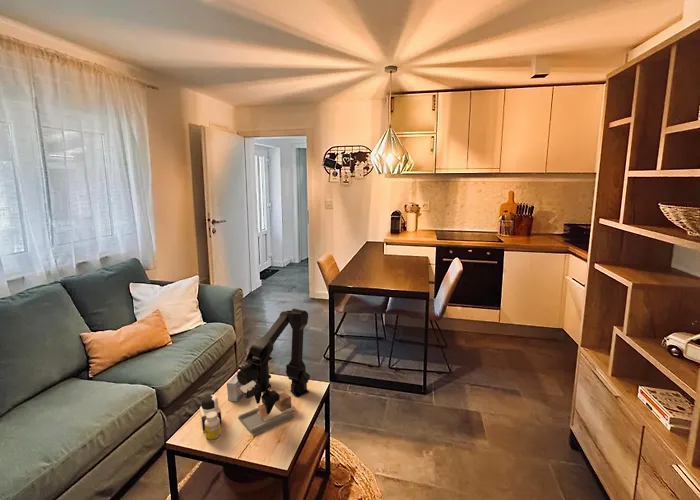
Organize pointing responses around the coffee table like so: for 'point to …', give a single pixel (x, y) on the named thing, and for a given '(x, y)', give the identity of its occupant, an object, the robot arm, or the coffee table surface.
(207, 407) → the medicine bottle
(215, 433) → the supplement bottle
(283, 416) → the lane board
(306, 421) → the coffee table surface
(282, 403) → the walnut block
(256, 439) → the coffee table surface
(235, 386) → the medicine box
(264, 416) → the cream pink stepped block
